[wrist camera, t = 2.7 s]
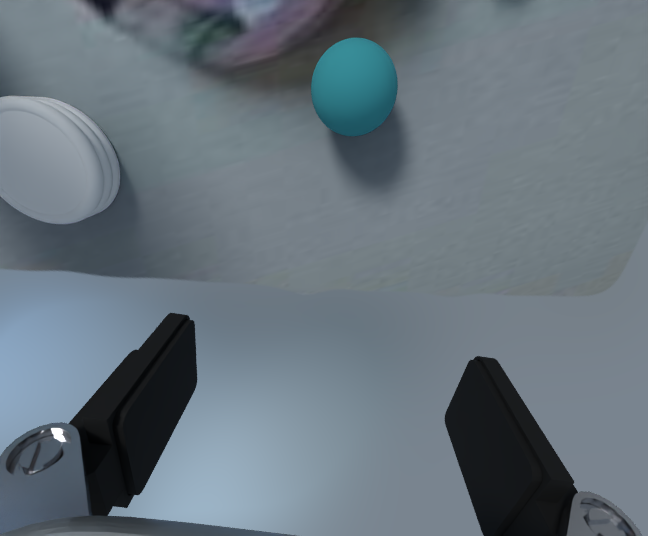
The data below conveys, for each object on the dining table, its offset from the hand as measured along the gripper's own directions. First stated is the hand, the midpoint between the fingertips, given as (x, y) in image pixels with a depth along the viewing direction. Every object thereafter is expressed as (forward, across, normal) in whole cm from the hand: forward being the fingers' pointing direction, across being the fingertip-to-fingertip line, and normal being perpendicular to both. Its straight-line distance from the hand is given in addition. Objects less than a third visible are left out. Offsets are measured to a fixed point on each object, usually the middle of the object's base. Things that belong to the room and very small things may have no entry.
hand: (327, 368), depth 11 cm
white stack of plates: (+21, +24, 0) cm, 32 cm away
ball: (+18, 0, -9) cm, 20 cm away
